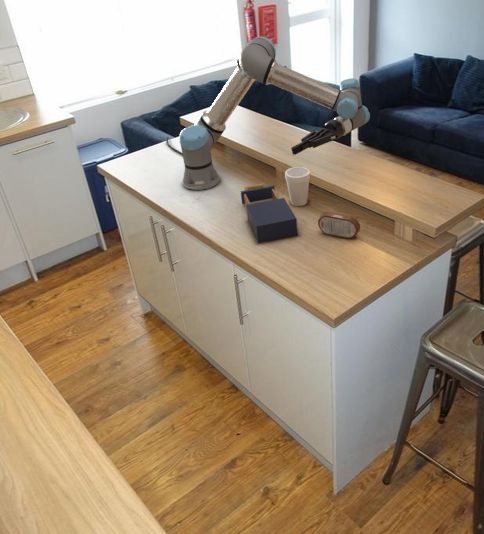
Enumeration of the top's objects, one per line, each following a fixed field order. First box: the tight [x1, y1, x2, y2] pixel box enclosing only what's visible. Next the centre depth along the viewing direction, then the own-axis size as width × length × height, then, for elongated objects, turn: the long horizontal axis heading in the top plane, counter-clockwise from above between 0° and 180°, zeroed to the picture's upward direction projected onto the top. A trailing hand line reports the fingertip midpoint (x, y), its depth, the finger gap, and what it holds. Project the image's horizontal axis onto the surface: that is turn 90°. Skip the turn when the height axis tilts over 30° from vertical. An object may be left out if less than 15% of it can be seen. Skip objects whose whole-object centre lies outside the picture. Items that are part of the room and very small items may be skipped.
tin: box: [317, 211, 361, 239], centre depth 197 cm, size 15×3×8 cm, turn 65°
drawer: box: [240, 183, 280, 207], centre depth 218 cm, size 22×13×5 cm, turn 16°
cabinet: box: [245, 197, 299, 244], centre depth 205 cm, size 17×15×7 cm
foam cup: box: [284, 166, 311, 207], centre depth 218 cm, size 10×9×13 cm
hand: (293, 151), depth 213 cm, fingers closed
